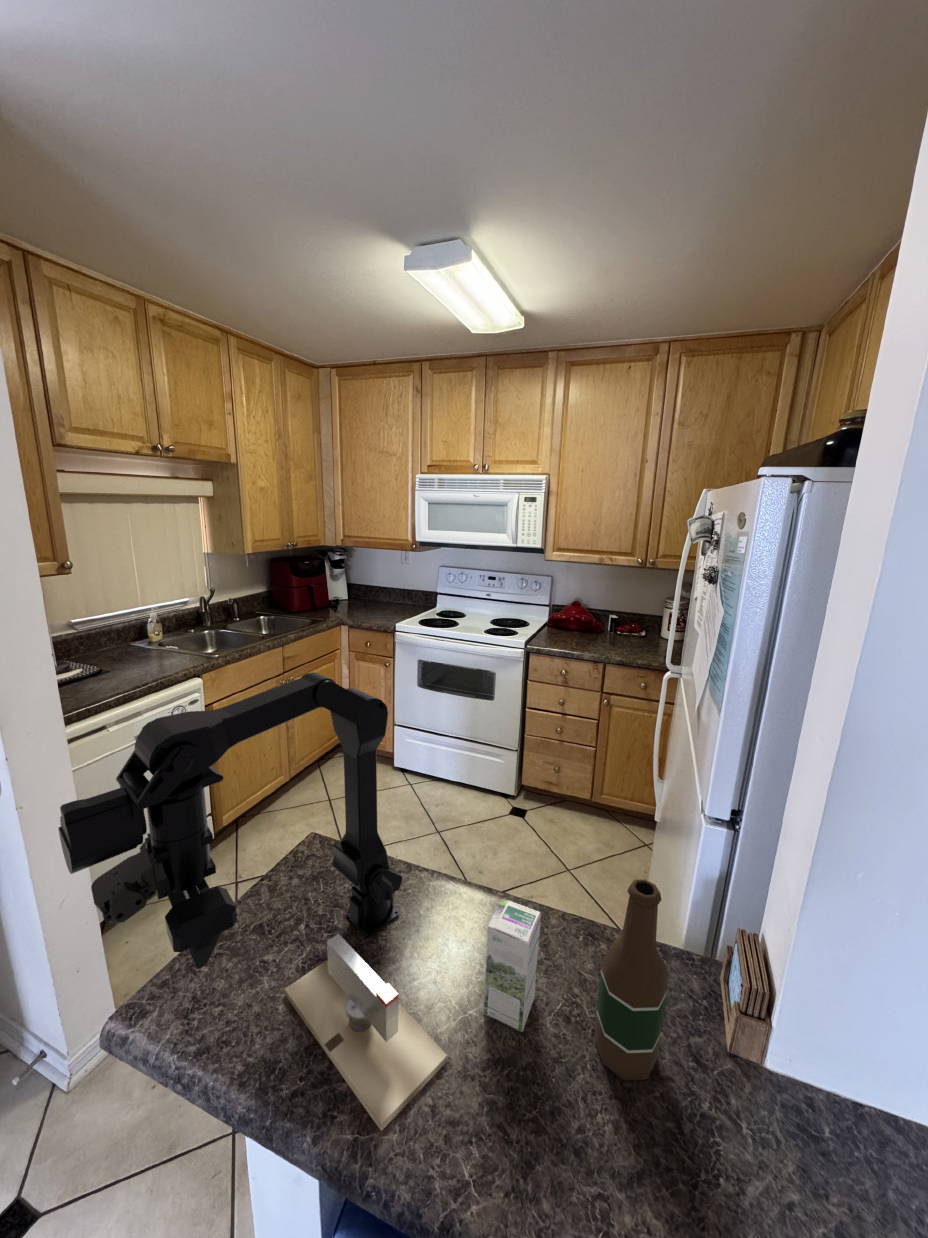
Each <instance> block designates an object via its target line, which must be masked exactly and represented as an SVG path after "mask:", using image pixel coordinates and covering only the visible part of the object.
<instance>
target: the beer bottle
mask: <svg viewBox="0 0 928 1238" xmlns="http://www.w3.org/2000/svg"><path fill="white" fill-rule="evenodd" d="M627 893H628V895H629V896H628V902H627V906H626V912H625V916H624V922H623V927H622V931H621V934H619V935H618V936H617V937H616V938H615V940H614V941H613V942H612V944H611V946H610V947H609V948H608V949H607V951H606V953H605V954H604V956H603V959H602V963H601V968H600V975H599V983H598V984H599V985H598V992H597V993H598V994H597V1003H596V1004H597V1005H596V1014H595V1019H594V1020H595V1022H594V1036H593V1037H594V1041H595V1043H596V1046H597V1051H598V1053H599V1056H600V1060H601V1063H602V1064H603V1065H604V1066H605V1067H607V1068H608V1069H609V1070H610V1071H611V1072H613V1073H614V1074H615V1075H617V1076H618V1077H619V1078H620V1079H621V1080H622V1081H642V1080H643V1081H644V1080H648V1079H649V1077H650V1074H651V1073H652V1070H653V1068H654V1067H655V1064H656V1063H657V1060H658V1056H659V1052H660V1045H661V1038H662V1033H663V1032H662V1031H663V1025H664V1017H665V1011H666V1004H667V995H668V990H669V989H668V988H669V987H668V986H669V975H668V971H667V969H666V968H667V967H666V965H665V962H664V960H663V959H662V957H661V955H660V953H659V950H658V947H657V933H658V932H657V929H658V912H659V911H658V910H659V904H660V903H661V902H662V896H661V892H660V890H659V889H658V887H657V885H656V883H652V882H651V881H649V880H647V879H644V878H643V879H641V878H640V879H633V881H632V882H631V883H630V885H629V886H628V888H627Z"/></svg>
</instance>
